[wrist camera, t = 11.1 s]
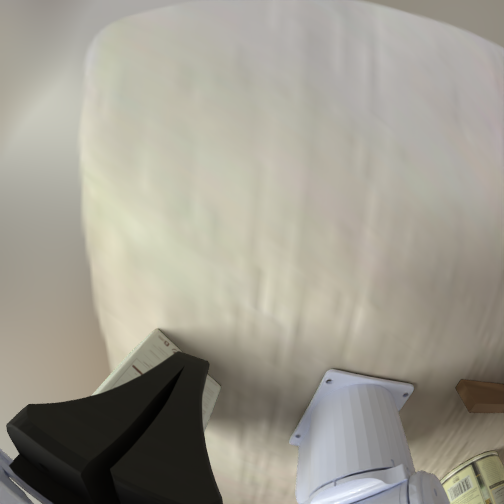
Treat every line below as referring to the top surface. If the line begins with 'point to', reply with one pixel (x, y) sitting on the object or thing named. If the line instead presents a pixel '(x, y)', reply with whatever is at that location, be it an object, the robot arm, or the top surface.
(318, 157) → the top surface
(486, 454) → the coffee can
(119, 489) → the robot arm
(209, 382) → the supplement box
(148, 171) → the top surface
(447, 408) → the top surface
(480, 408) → the holder
